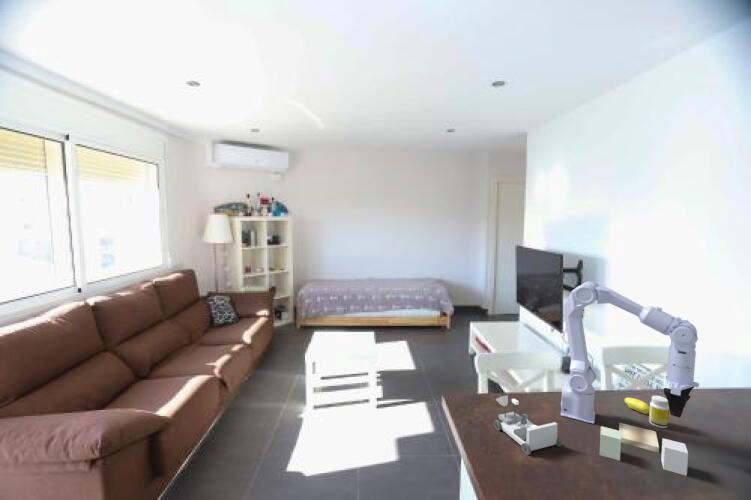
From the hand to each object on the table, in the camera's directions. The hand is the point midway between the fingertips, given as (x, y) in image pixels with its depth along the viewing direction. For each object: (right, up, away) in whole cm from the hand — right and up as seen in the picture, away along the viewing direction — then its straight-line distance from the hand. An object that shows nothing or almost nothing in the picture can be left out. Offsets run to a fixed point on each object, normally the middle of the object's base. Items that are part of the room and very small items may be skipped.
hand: (677, 410), depth 103 cm
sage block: (-21, -11, -3) cm, 24 cm away
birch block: (-9, -10, +4) cm, 14 cm away
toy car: (-42, -10, +6) cm, 43 cm away
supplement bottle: (+3, -9, +11) cm, 15 cm away
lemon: (+3, -9, +20) cm, 22 cm away
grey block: (-8, -11, -9) cm, 16 cm away
